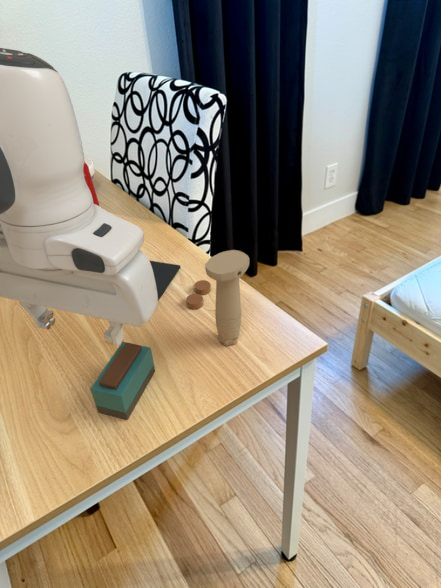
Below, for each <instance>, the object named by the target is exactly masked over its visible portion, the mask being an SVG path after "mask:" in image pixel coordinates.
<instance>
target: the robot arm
mask: <svg viewBox="0 0 441 588" xmlns="http://www.w3.org/2000/svg"><path fill="white" fill-rule="evenodd" d="M84 157H85V152H84V148H83V142H82V138H81V132H80V129H79V125H78V119H77V116H76V113H75V109H74V106H73V102H72V99H71V96H70V93H69V90H68V88H67V85H66V82H65V80H64V79H63V77H62V75H61V74H60V72H59V71H58V70H57V69H55V67H54V66H53V65H52V64H51V63H49V62H47V61H46V60H44V59H42V58H41V57H39V56H37V55H34V54H33V53H30V52H25V51H22V50H17V49H11V48H4V47H0V298H2V299H3V298H4V299H8V300H13V301H17V302H19V304H20V306H21V307H22V309H24V311H25V312H26V313H28V315H30V316H31V318H33V320H34V323H35V326H36V328H39V329H45V330H50V329H51V327H52V326H54V325H55V323H56V317H55V314H54V310H58V311H63V312H67V313H71V314H77V315H81V316H86V317H90V318H95V319H99V320H103V321H108V323H109V326H108V329H106V330H105V332H104V333H103V336H104V339H105V344H108V345H112V346H115V347H119V346H120V345H121V343H122V342H123V340H124V338H125V333H124V326H125V325H126V326H130V327H134V328H142V327H143V326H145V324H146V323H148V321H149V320H150V319H151V318H152V317H153V315H154V314H155V312H156V311H157V308H158V304H159V301H158V295H157V288H156V282H155V277H154V273H153V269H152V266H151V263H150V261H151V260H150V259H149V257H148V256H147V255H146V254H145V253H144V252H143V251H142V250H141V248H142V246H143V244H144V242H145V234H144V231H143V229H142V228H141V227H140V226H138V225H136V224H134V223H132V222H130V221H128V220H126V219H123V218H121V217H119V216H118V215H115V214H113V213H111V212H109V211H108V210H107V209H104V208H103V207H101V205H100V206H98V205H96V204H94V203H93V198H92V194H91V192H90V189H89V188H88V186H87V184H86V182H85V179H84V173H83V166H84ZM47 308H49V309H47ZM50 309H54V310H50Z"/></svg>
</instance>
